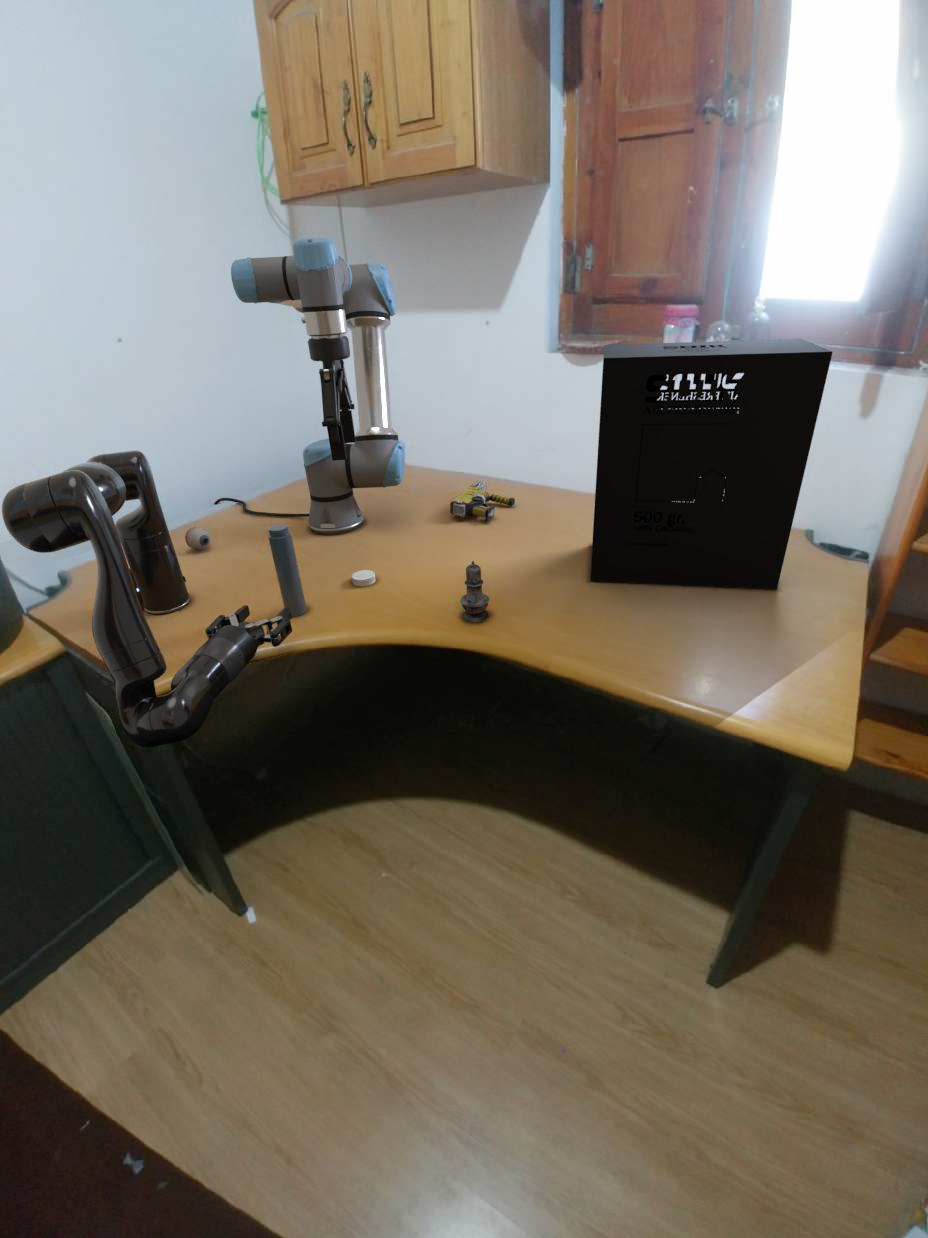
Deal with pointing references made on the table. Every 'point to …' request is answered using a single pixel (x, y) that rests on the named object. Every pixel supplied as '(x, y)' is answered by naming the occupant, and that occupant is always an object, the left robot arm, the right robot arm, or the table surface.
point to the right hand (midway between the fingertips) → (344, 450)
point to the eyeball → (197, 538)
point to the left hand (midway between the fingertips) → (267, 610)
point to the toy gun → (477, 502)
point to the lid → (363, 578)
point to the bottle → (287, 569)
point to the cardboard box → (703, 460)
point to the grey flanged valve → (474, 595)
